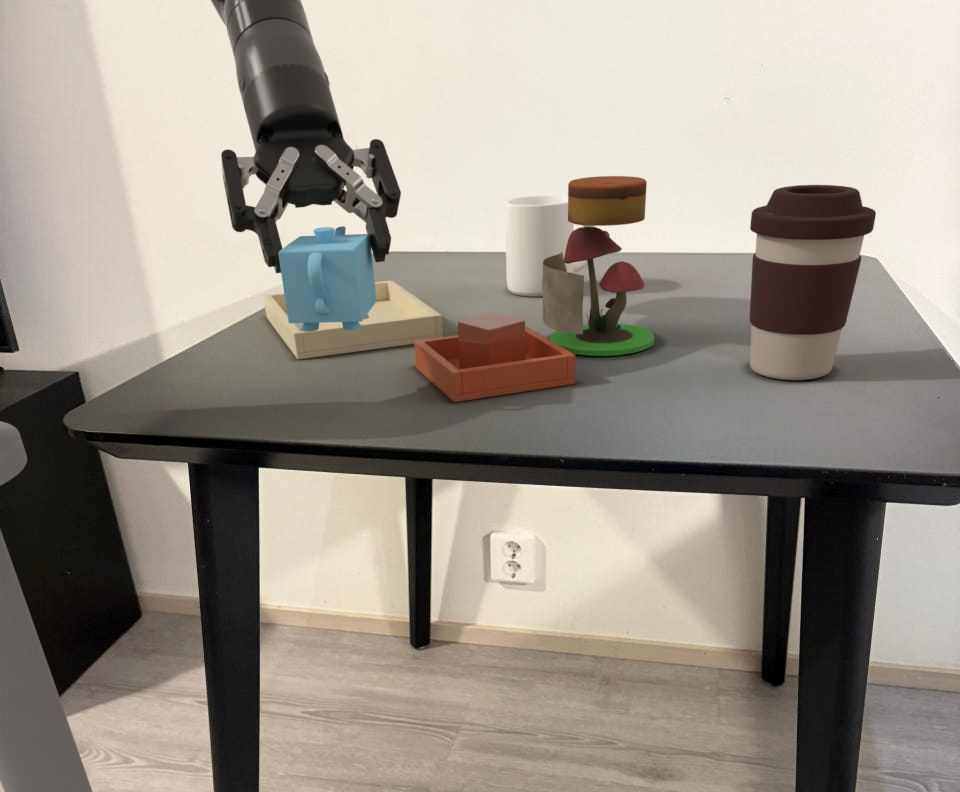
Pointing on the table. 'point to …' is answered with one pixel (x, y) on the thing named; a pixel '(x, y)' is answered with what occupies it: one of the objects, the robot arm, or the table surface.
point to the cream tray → (387, 325)
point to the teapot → (328, 278)
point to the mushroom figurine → (565, 291)
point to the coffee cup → (804, 277)
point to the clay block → (490, 340)
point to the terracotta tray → (494, 368)
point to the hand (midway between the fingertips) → (331, 261)
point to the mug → (535, 240)
